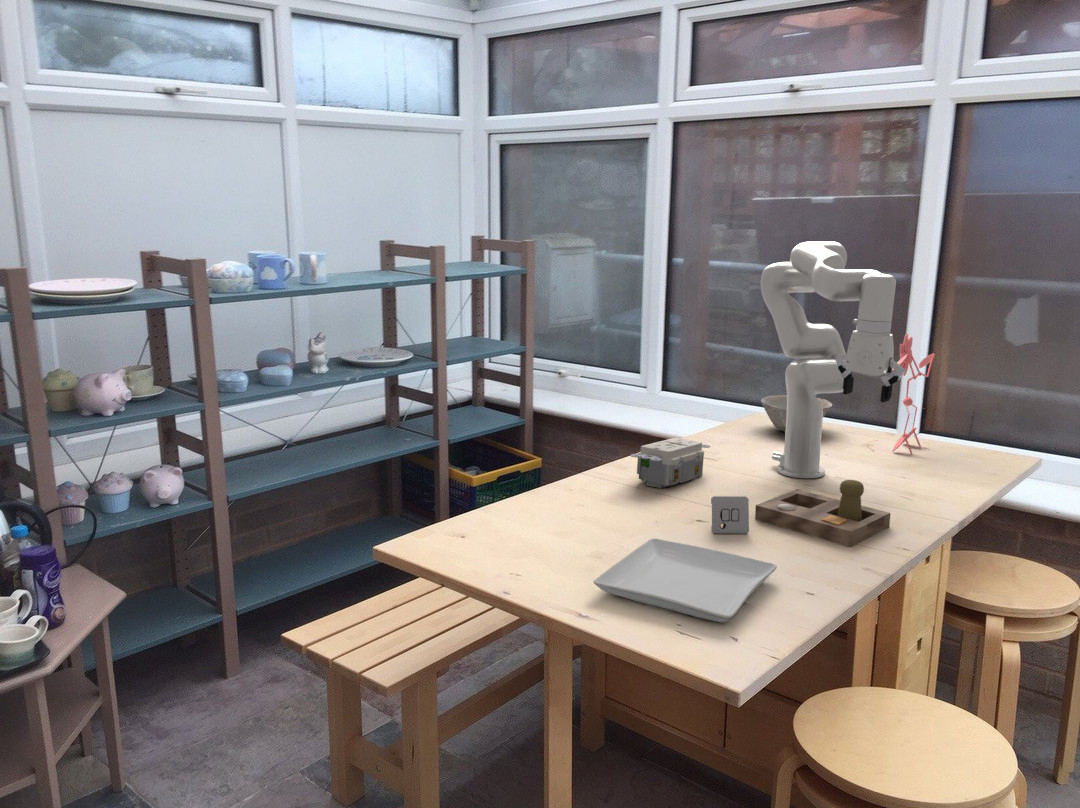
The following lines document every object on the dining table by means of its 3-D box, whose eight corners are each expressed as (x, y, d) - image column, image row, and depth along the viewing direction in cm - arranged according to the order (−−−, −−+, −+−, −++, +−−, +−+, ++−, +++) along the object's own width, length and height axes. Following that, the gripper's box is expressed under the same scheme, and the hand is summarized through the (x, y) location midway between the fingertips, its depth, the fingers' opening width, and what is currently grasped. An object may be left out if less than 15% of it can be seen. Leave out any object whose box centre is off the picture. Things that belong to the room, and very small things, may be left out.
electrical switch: (711, 534, 202) (713, 498, 202) (707, 529, 207) (709, 493, 206) (749, 534, 203) (750, 498, 202) (744, 529, 207) (745, 493, 206)
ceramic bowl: (762, 438, 286) (763, 408, 284) (757, 422, 308) (758, 393, 306) (835, 442, 282) (837, 411, 280) (824, 425, 304) (827, 395, 302)
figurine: (931, 442, 282) (942, 331, 274) (906, 460, 262) (918, 341, 255) (881, 435, 291) (891, 327, 284) (853, 451, 271) (863, 336, 264)
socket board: (754, 519, 212) (755, 503, 211) (796, 502, 224) (797, 487, 224) (850, 547, 195) (851, 530, 195) (889, 527, 207) (890, 511, 207)
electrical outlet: (621, 485, 235) (624, 447, 234) (677, 468, 258) (679, 434, 256) (660, 494, 228) (663, 455, 227) (714, 476, 250) (717, 440, 249)
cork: (864, 532, 204) (868, 486, 202) (836, 530, 205) (840, 484, 203) (860, 523, 210) (864, 478, 207) (833, 521, 211) (836, 476, 209)
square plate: (590, 599, 170) (590, 579, 169) (651, 552, 193) (652, 535, 192) (729, 635, 156) (730, 614, 155) (777, 580, 179) (779, 561, 178)
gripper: (832, 323, 217) (825, 392, 221) (901, 334, 205) (892, 407, 209) (848, 320, 222) (841, 388, 226) (916, 330, 210) (908, 402, 214)
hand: (865, 397), depth 218 cm, fingers open, 9 cm apart
